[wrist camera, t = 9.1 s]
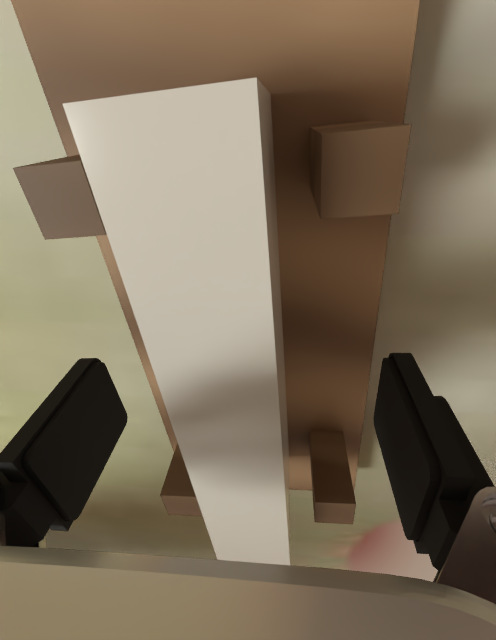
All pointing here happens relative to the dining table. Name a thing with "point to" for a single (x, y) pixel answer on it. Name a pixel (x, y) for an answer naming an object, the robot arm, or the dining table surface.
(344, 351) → the plank with four pegs
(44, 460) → the robot arm
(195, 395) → the clay strip
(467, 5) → the dining table surface
